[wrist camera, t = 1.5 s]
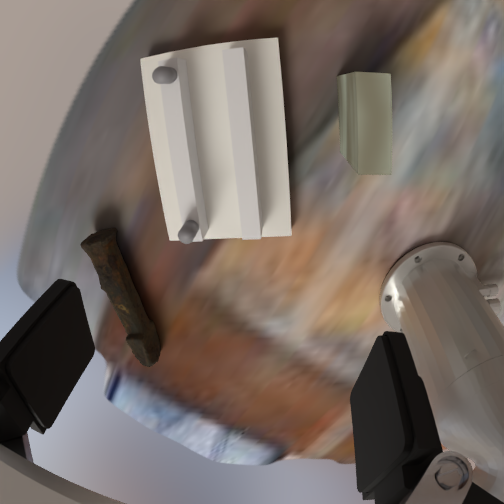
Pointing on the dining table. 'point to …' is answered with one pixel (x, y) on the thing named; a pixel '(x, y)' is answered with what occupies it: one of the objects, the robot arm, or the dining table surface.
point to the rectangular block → (366, 121)
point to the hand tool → (123, 295)
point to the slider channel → (220, 140)
